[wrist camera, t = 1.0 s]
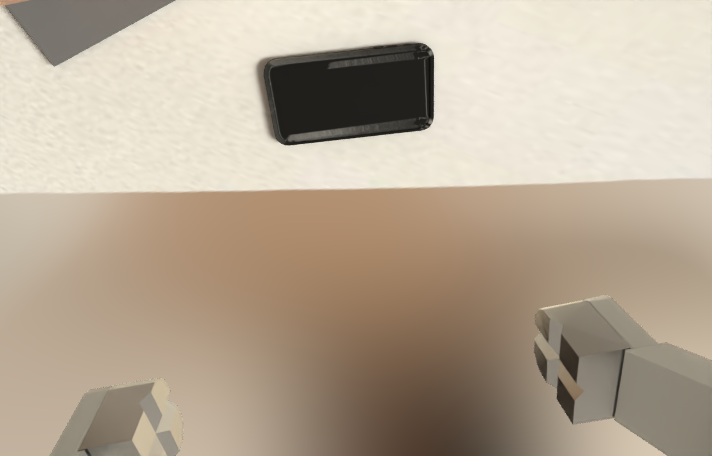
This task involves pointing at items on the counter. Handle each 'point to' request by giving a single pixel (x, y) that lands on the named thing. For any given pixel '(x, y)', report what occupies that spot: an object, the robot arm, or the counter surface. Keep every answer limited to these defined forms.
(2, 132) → the counter surface
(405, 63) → the phone
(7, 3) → the tile
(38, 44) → the mat
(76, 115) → the counter surface
